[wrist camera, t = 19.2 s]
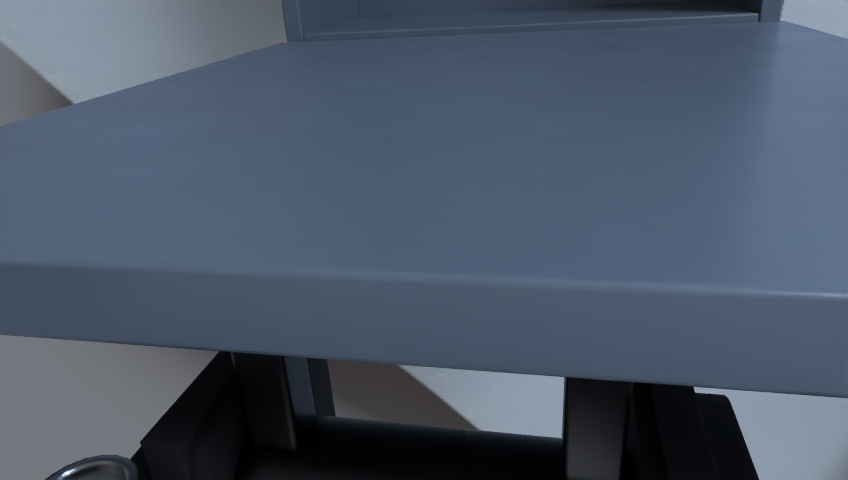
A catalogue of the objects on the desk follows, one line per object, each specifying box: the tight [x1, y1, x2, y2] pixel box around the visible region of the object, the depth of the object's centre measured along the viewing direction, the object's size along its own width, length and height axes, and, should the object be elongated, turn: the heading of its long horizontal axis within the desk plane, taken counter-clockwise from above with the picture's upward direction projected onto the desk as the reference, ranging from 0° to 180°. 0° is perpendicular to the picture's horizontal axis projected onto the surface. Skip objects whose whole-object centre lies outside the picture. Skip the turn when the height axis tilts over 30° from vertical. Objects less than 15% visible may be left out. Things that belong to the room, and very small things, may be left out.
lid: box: [0, 21, 848, 480], centre depth 13 cm, size 16×15×5 cm
